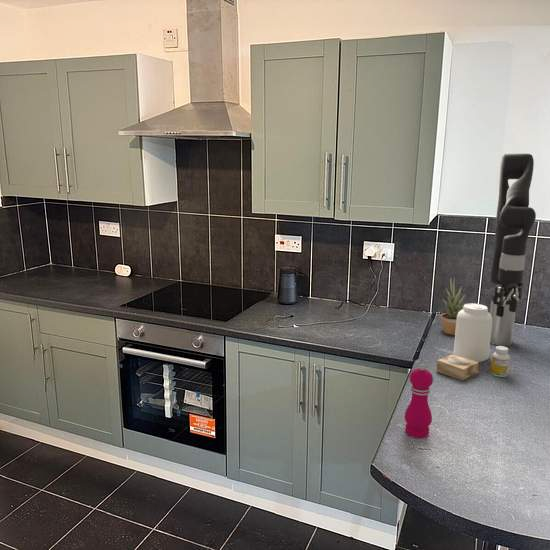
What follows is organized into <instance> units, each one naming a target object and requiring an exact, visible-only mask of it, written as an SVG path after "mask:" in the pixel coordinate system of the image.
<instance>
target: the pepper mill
mask: <svg viewBox="0 0 550 550" xmlns="http://www.w3.org/2000/svg"><path fill="white" fill-rule="evenodd" d="M433 377H434V376H433V374H432V373H431V371H429V370H428V369H426V365H425V364H424V363H421V364H419V365H418V368H415V369H413V370H412V371H411V373H409V382H410V384H411V385H410V387H411V388H410V391H411V400H410V402H409V405H408V406H407V407H406V410H405V413H404V420H405V422H406V423H405V429H404V430H405V433H406V434H407V435H408V436H409V437H413V438H414V439H415V438H416V439H424V438H426V437H428V436H429V434H430V425H432V422H433V416H432V411H431V408H430V406H429V402H428V400H429V399H428V396H429V394H430V393H431V391H430V390H431V386H432V384H433V382H434V378H433Z"/></svg>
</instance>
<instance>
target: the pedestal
mask: <svg viewBox="0 0 550 550" xmlns="http://www.w3.org/2000/svg"><path fill="white" fill-rule="evenodd" d="M436 362H437V363H436V372H438V373H441V374H444V375H447V376H449V377H452V378H455V379H456V380H460V381H465V380H466V379H468V378H470V377H473V376H475V375H477V374H479V368H480V367H479V365H480V362H477V361H474V360H471V359H468V358H465V357H462V356H459V355H456V354H454V353H452V354H449V355H447V356H445V357H443V358H439V359H437V361H436Z"/></svg>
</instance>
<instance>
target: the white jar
mask: <svg viewBox="0 0 550 550" xmlns="http://www.w3.org/2000/svg"><path fill="white" fill-rule="evenodd" d="M491 330H492V316H491V315H490V312H489V308H488V306H486V305H484V304H481V303H474V302H473V303H472V302H471V303H464V304H463V306H462V308H461V309H460V310H459V312H458V315H457V320H456V331H455V335H454V342H453V343H454V344H453V353H452V354H456V355H459V356H462V357H465V358H468V359H471V360H474V361H477V362H479V363H481V362H485V361H487V360H488V359H489V355H490V346H491V343H490V339H491Z"/></svg>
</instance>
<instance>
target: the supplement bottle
mask: <svg viewBox="0 0 550 550" xmlns="http://www.w3.org/2000/svg"><path fill="white" fill-rule="evenodd" d="M508 353H509V348H508V346H498V345H496V346H495V352H493V353H492V357H491V365H490V367H491V368H490V373H491V375H492V376H495V377H499V378H505V377H508V375H509V374H508V373H509V365H510V355H509V354H508Z"/></svg>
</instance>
